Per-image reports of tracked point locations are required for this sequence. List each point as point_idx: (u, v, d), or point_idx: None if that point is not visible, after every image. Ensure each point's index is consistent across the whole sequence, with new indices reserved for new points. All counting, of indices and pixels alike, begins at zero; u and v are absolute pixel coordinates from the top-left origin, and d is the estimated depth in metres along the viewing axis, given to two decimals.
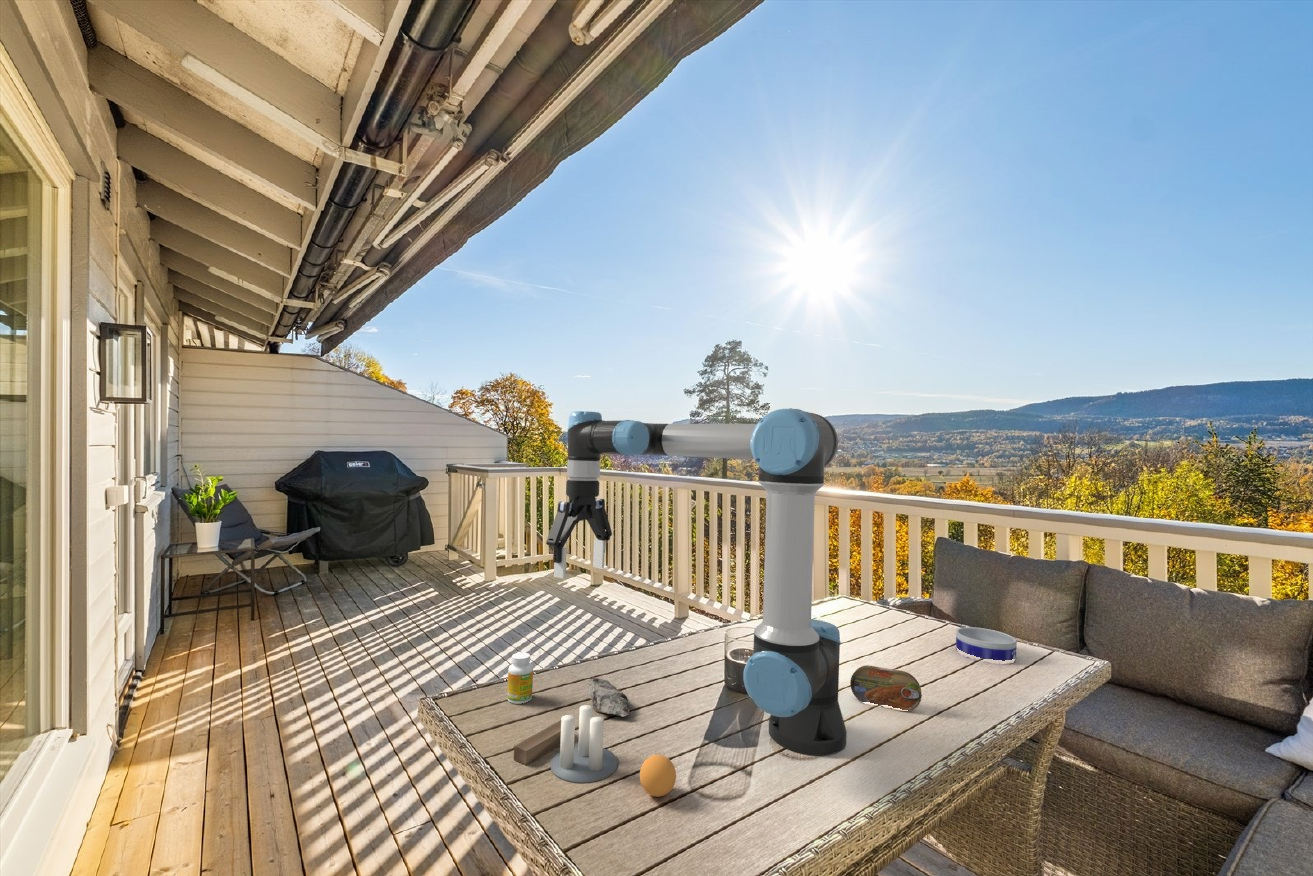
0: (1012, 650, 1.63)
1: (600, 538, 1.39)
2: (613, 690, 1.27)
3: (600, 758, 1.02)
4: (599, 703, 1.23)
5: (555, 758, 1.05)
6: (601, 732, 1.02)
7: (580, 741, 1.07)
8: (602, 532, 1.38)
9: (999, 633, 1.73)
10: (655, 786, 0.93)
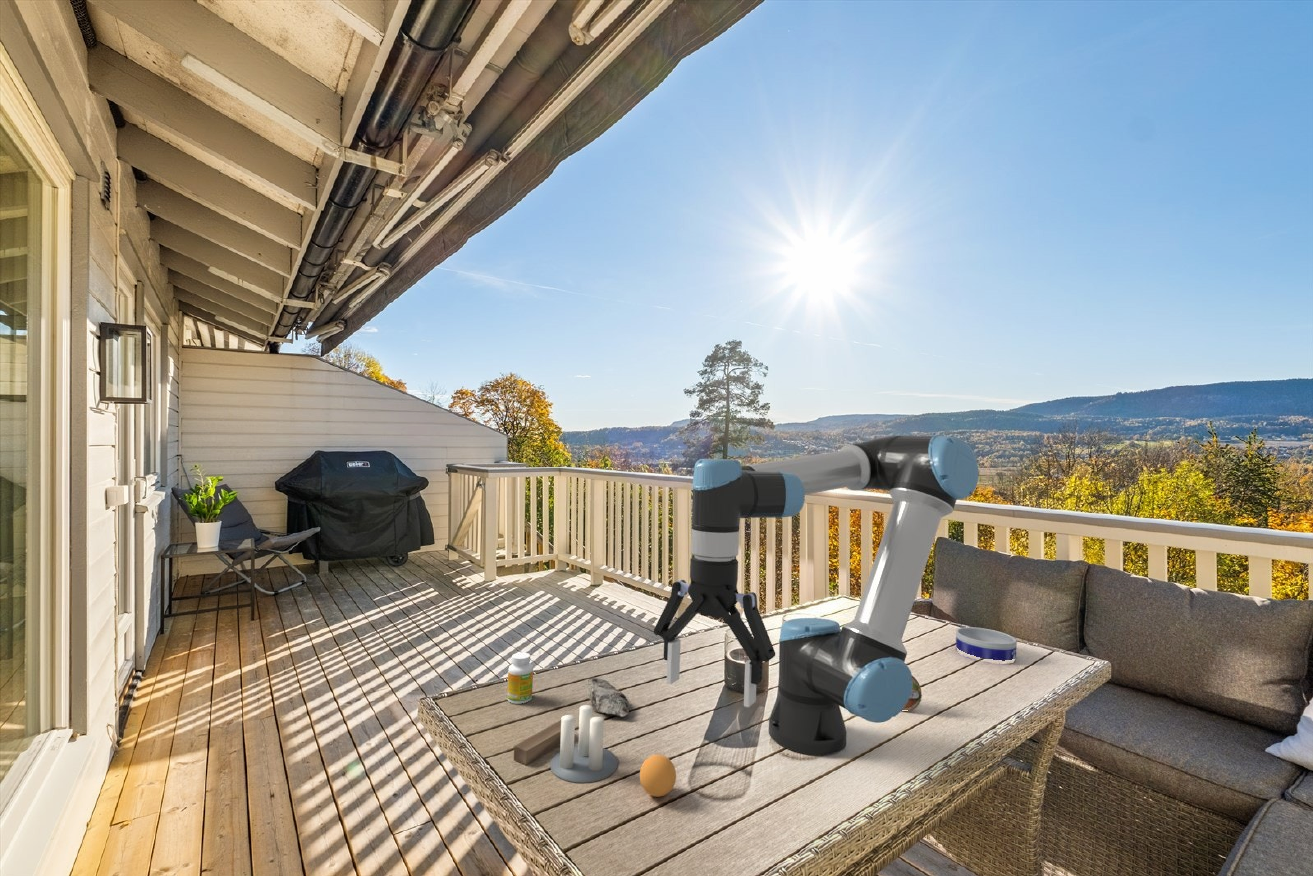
0: (1012, 650, 1.63)
1: None
2: (612, 690, 1.27)
3: (600, 758, 1.02)
4: (598, 703, 1.23)
5: (555, 758, 1.05)
6: (601, 732, 1.02)
7: (580, 741, 1.07)
8: (745, 648, 0.87)
9: (999, 633, 1.73)
10: (655, 786, 0.93)
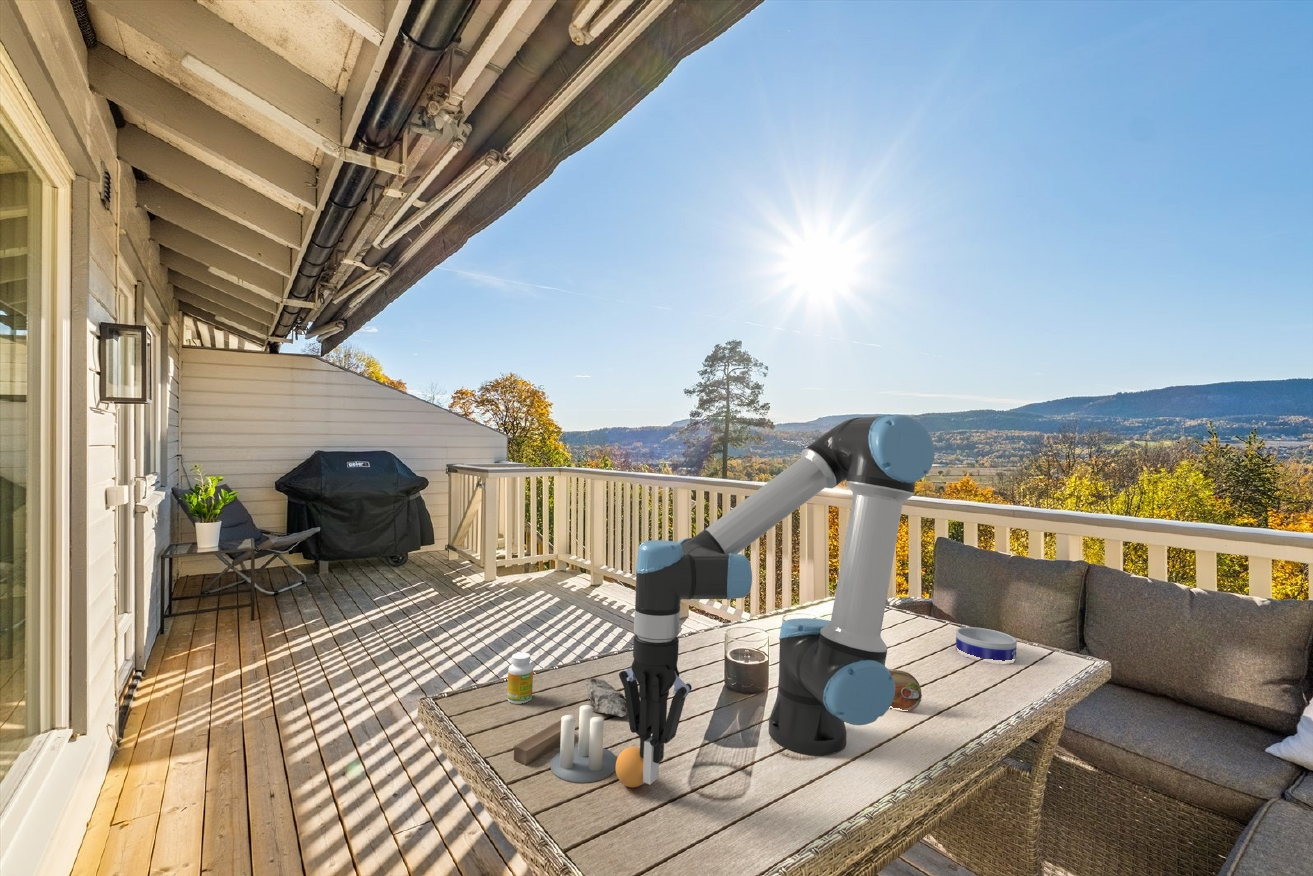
0: (1012, 650, 1.63)
1: None
2: (611, 690, 1.27)
3: (600, 758, 1.02)
4: (597, 703, 1.23)
5: (555, 758, 1.05)
6: (601, 732, 1.02)
7: (580, 741, 1.07)
8: (654, 728, 0.95)
9: (999, 633, 1.73)
10: (626, 768, 0.96)
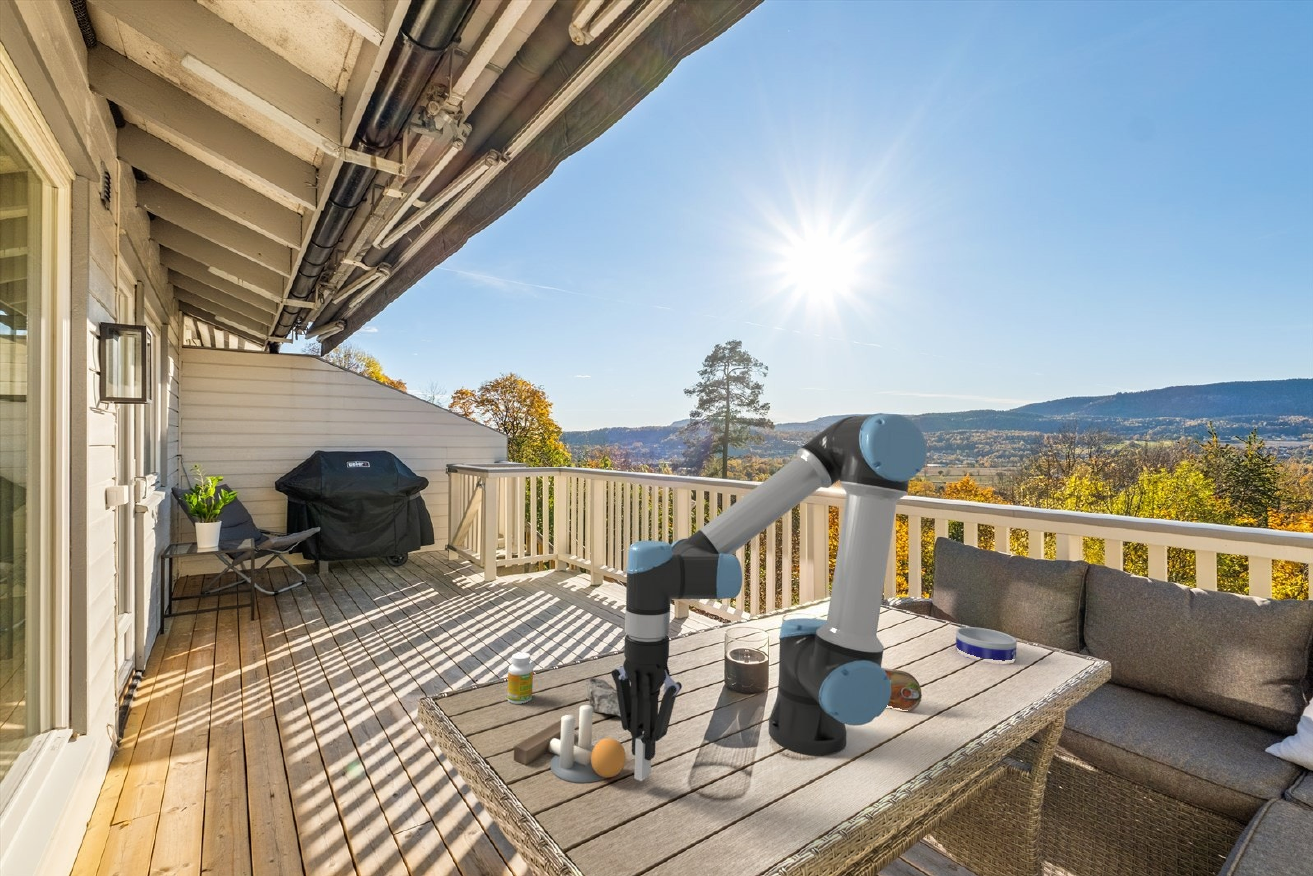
0: (1012, 650, 1.63)
1: None
2: (610, 690, 1.27)
3: (579, 749, 1.05)
4: (597, 703, 1.23)
5: (555, 758, 1.05)
6: (560, 741, 1.07)
7: (580, 741, 1.07)
8: (645, 726, 0.96)
9: (999, 633, 1.73)
10: (593, 761, 0.99)
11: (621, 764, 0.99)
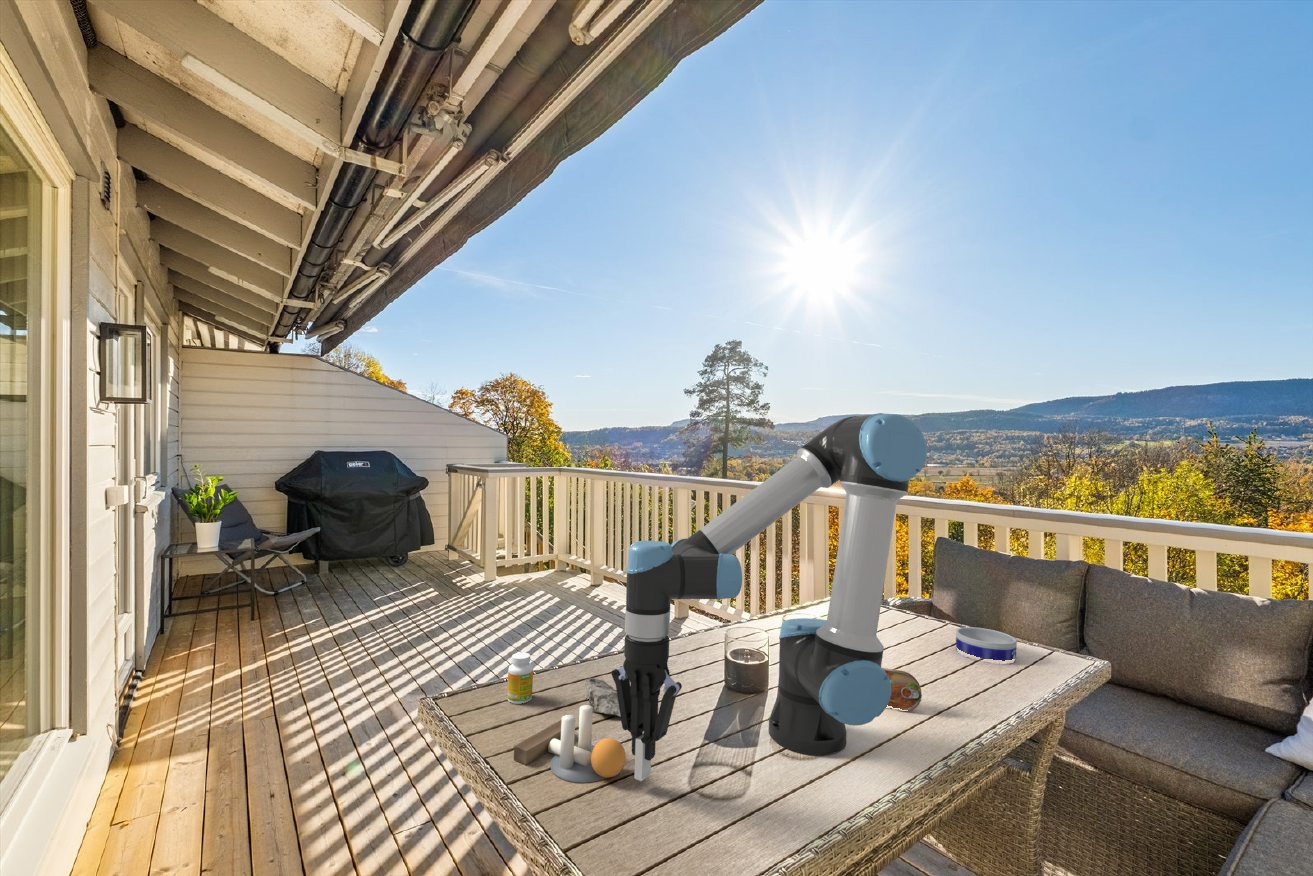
0: (1012, 650, 1.63)
1: None
2: (610, 690, 1.27)
3: (579, 749, 1.05)
4: (596, 703, 1.23)
5: (555, 758, 1.05)
6: (560, 742, 1.07)
7: (580, 741, 1.07)
8: (645, 726, 0.96)
9: (999, 633, 1.73)
10: (593, 761, 0.99)
11: (621, 764, 0.99)
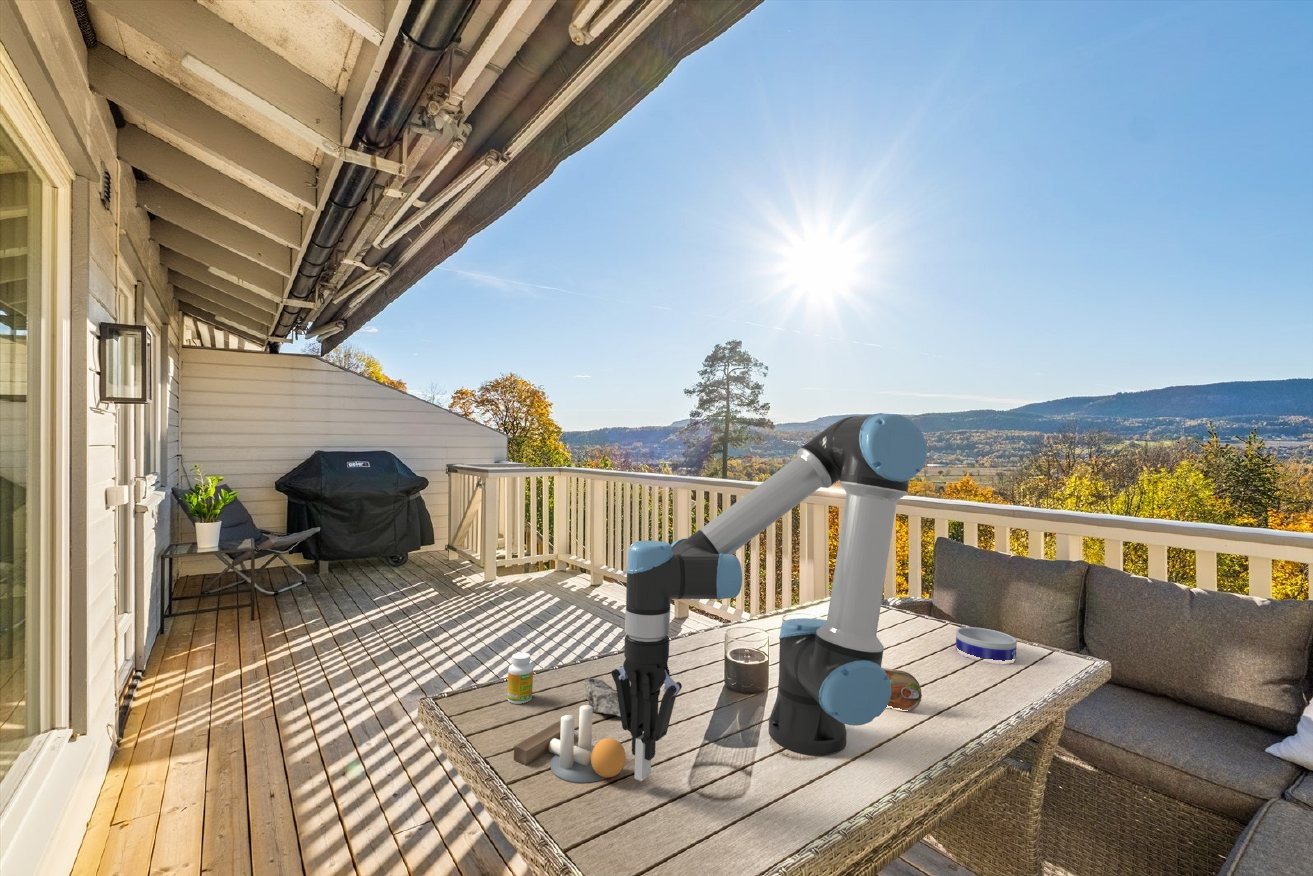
0: (1012, 650, 1.63)
1: None
2: (609, 690, 1.27)
3: (579, 749, 1.05)
4: (596, 703, 1.23)
5: (555, 758, 1.05)
6: None
7: (580, 741, 1.07)
8: (645, 726, 0.96)
9: (999, 633, 1.73)
10: (593, 761, 0.99)
11: (621, 764, 0.99)
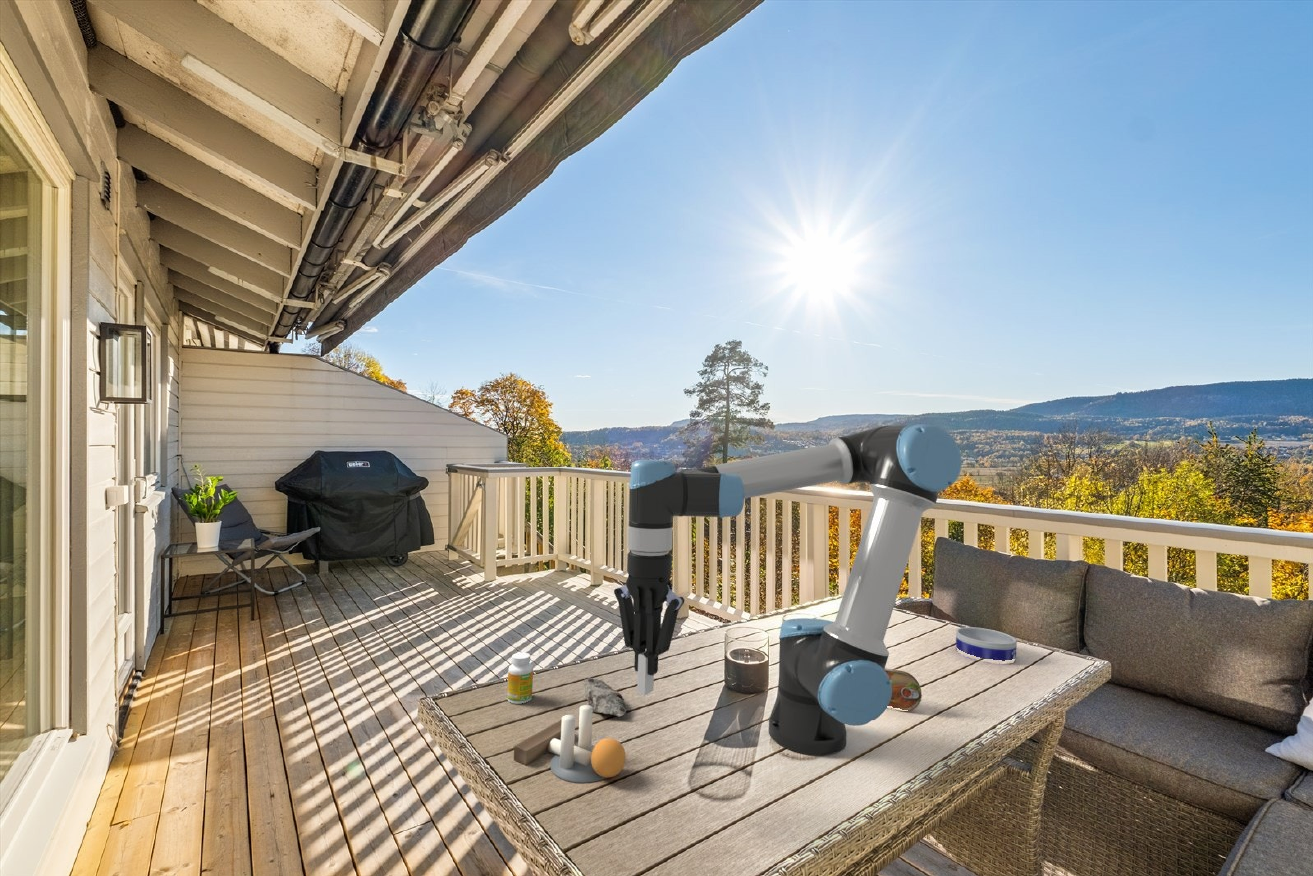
0: (1012, 650, 1.63)
1: None
2: (609, 690, 1.27)
3: (579, 749, 1.05)
4: (595, 703, 1.23)
5: (555, 758, 1.05)
6: (560, 741, 1.07)
7: (580, 741, 1.07)
8: (648, 640, 0.96)
9: (999, 633, 1.73)
10: (593, 761, 0.99)
11: (621, 764, 0.99)
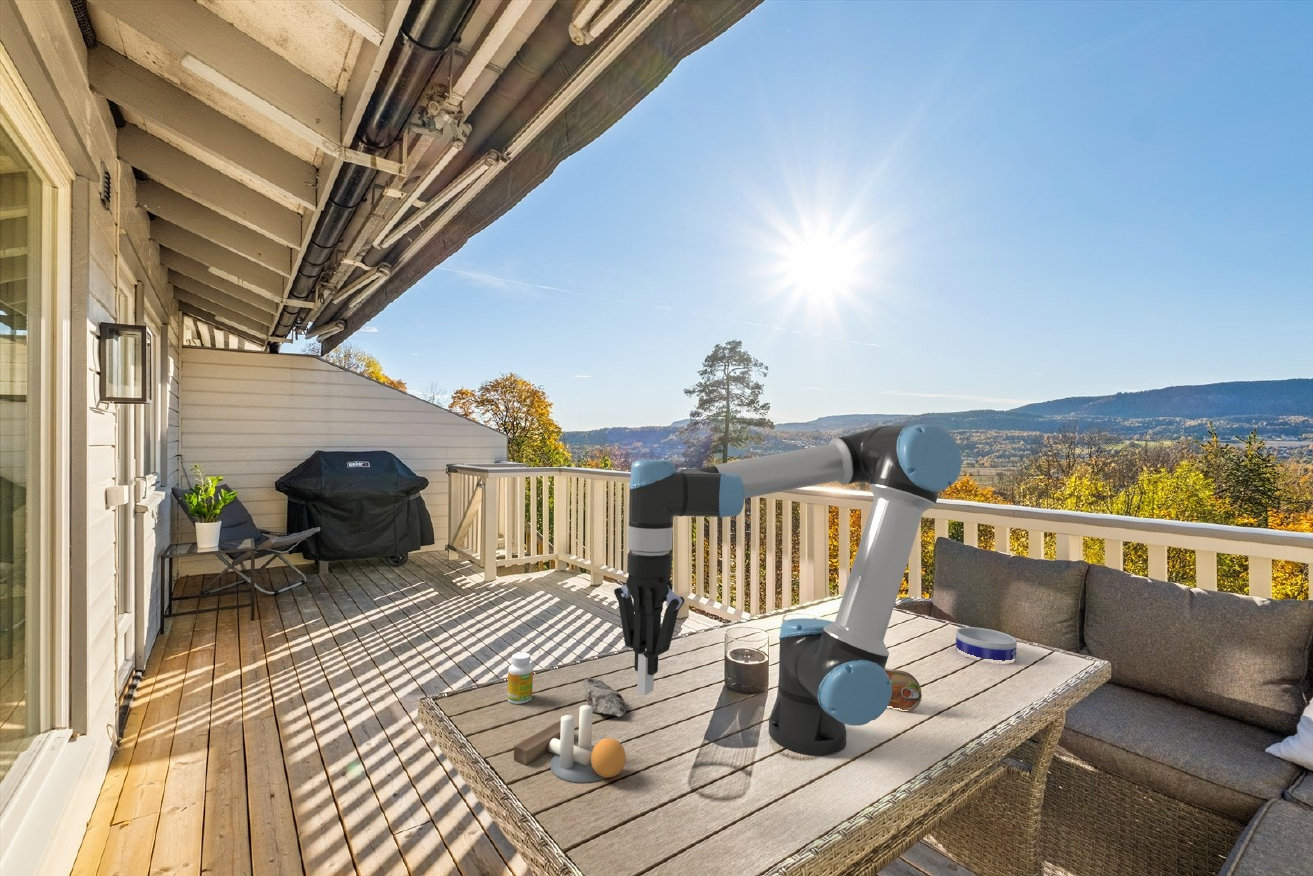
0: (1012, 650, 1.63)
1: None
2: (608, 690, 1.27)
3: (579, 749, 1.05)
4: (595, 703, 1.23)
5: (555, 758, 1.05)
6: None
7: (580, 741, 1.07)
8: (648, 640, 0.96)
9: (999, 633, 1.73)
10: (593, 761, 0.99)
11: (621, 764, 0.99)
